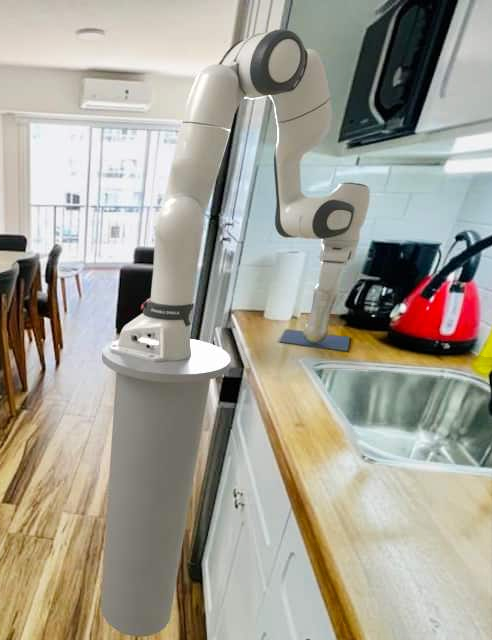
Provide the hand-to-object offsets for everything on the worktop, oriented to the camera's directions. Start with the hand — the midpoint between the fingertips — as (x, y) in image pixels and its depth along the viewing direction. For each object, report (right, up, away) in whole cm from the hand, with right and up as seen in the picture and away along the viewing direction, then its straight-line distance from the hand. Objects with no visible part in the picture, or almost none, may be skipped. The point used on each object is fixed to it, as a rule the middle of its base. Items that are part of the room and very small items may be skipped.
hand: (323, 303), depth 137 cm
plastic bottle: (0, -10, +6) cm, 11 cm away
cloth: (+3, -8, +10) cm, 13 cm away
